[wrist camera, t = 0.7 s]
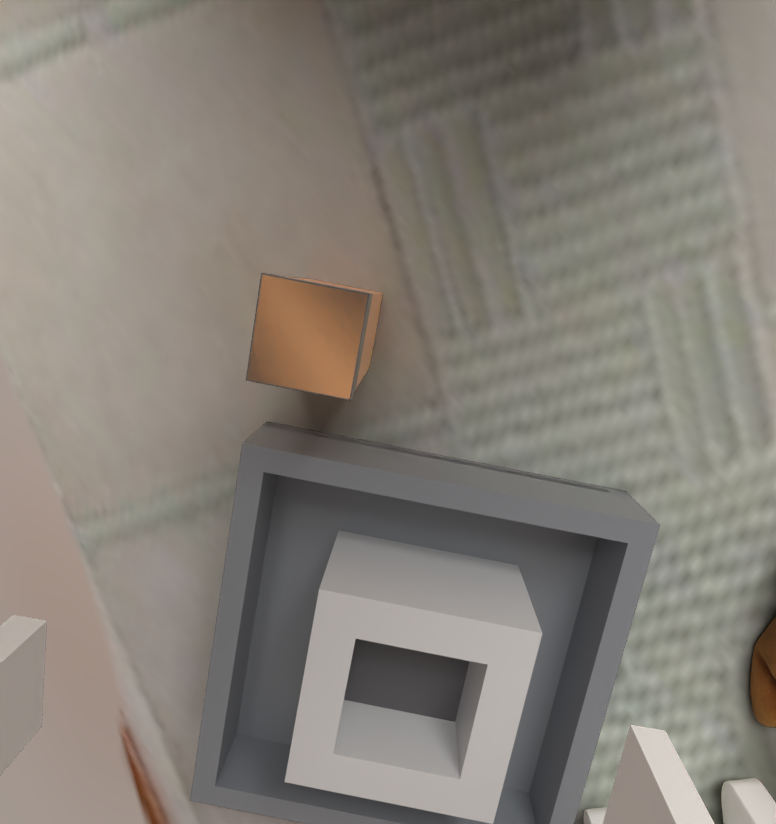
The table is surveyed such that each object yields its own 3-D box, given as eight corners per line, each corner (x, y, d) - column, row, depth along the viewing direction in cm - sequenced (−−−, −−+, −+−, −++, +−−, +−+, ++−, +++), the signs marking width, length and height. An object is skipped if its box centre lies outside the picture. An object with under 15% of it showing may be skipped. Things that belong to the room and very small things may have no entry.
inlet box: (267, 421, 35) (223, 459, 27) (626, 491, 35) (686, 550, 27) (218, 736, 39) (168, 849, 31) (541, 800, 39) (572, 930, 31)
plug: (307, 277, 34) (261, 273, 24) (384, 292, 33) (369, 293, 24) (295, 354, 34) (246, 380, 24) (370, 368, 34) (350, 400, 24)
